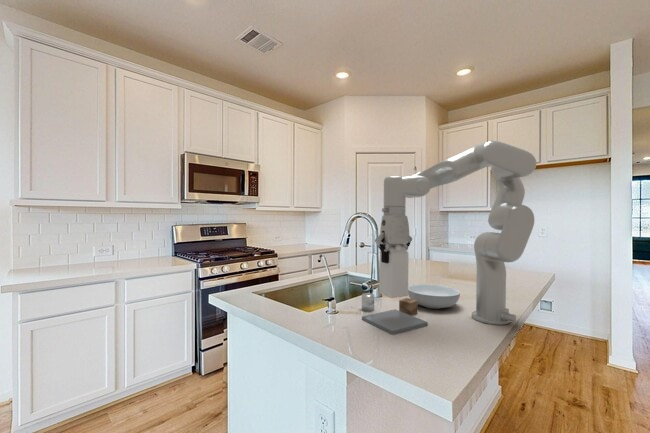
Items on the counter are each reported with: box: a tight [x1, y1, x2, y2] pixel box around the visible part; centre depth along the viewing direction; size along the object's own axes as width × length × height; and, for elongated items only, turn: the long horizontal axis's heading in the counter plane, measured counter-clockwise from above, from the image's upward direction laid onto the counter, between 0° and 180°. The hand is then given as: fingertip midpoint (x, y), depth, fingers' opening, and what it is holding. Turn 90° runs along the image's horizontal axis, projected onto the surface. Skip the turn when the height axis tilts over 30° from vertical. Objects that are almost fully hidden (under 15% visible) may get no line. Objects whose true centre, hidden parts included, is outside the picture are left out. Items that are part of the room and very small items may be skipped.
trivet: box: [361, 309, 429, 336], centre depth 111 cm, size 16×16×1 cm
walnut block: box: [398, 297, 419, 316], centre depth 121 cm, size 5×5×5 cm
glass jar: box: [361, 292, 375, 313], centre depth 125 cm, size 5×5×6 cm
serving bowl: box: [408, 283, 461, 310], centre depth 131 cm, size 21×21×7 cm
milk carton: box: [379, 244, 409, 299], centre depth 110 cm, size 7×7×19 cm
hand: (393, 261), depth 110 cm, fingers closed on milk carton, 7 cm apart
